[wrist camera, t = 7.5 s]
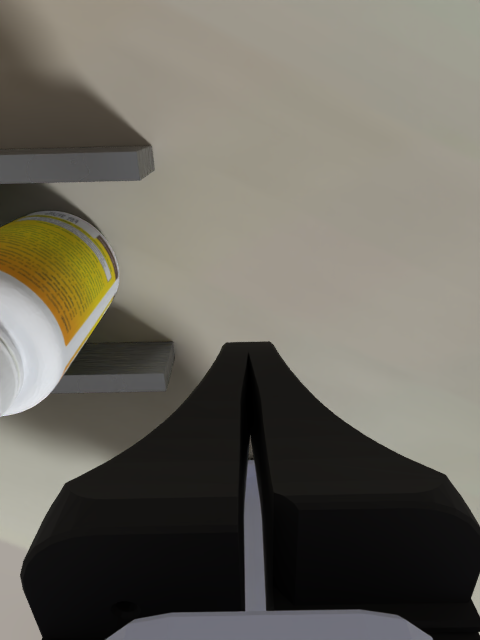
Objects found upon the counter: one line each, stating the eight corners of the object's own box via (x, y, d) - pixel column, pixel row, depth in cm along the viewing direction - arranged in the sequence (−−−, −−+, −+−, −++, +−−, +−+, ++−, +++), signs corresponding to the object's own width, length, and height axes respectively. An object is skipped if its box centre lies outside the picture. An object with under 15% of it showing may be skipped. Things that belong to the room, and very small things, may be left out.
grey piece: (174, 358, 23) (165, 391, 20) (-75, 363, 23) (-116, 396, 20) (152, 145, 18) (136, 151, 15) (-162, 153, 18) (-231, 160, 15)
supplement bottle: (12, 189, 19) (-203, 263, 10) (134, 231, 20) (42, 335, 11) (-1, 297, 21) (-184, 440, 12) (109, 330, 22) (16, 487, 13)
